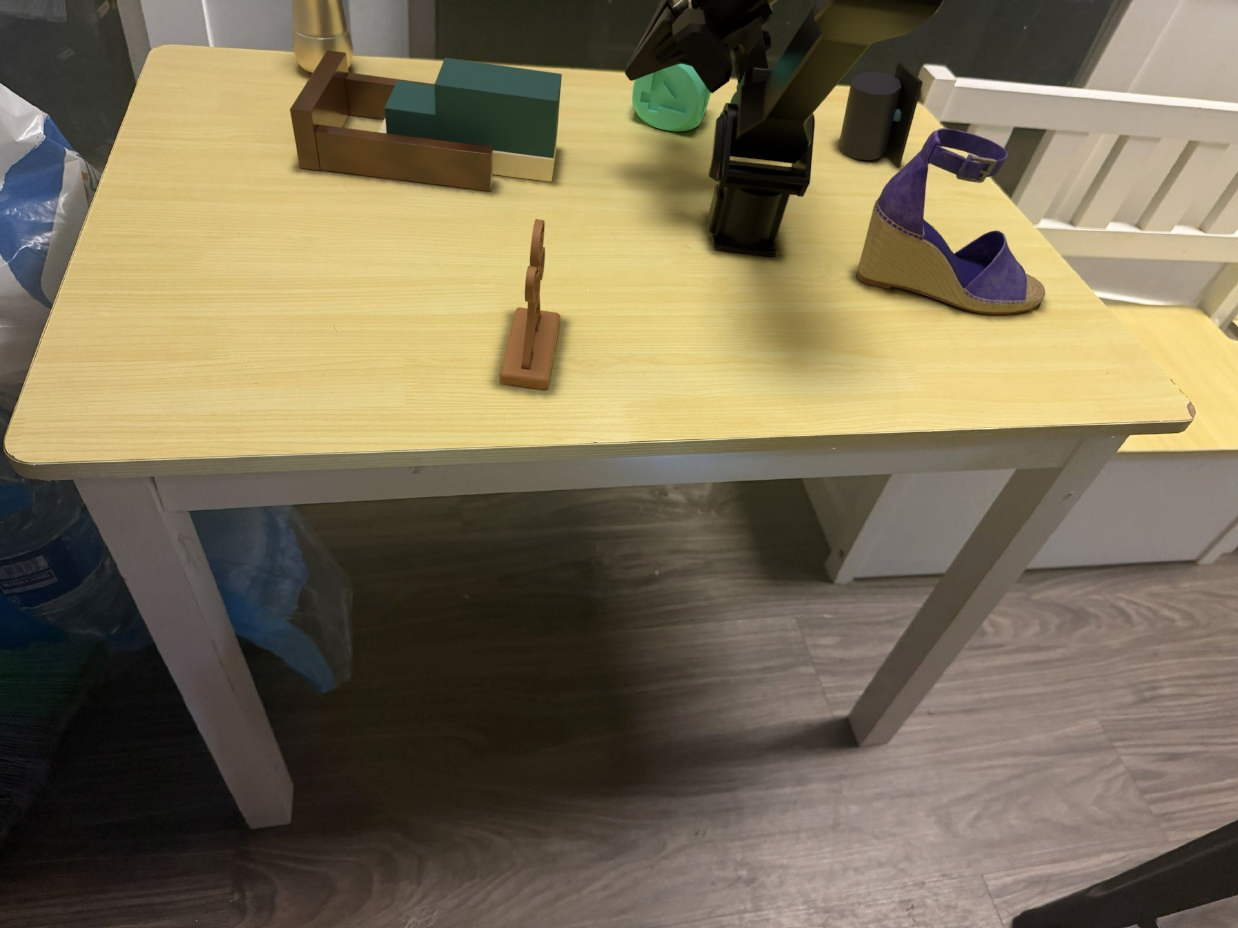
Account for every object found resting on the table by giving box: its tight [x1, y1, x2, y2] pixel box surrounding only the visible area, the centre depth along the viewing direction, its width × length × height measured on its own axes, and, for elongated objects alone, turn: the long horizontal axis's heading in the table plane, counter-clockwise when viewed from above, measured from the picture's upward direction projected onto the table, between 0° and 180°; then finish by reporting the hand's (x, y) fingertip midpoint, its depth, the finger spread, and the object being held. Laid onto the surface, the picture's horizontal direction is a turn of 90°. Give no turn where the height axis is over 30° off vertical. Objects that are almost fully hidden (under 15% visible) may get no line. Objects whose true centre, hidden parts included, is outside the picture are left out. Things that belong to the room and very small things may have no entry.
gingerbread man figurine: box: [499, 218, 561, 390], centre depth 63 cm, size 9×4×12 cm, turn 176°
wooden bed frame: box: [289, 50, 494, 192], centre depth 85 cm, size 19×14×6 cm
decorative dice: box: [631, 64, 712, 132], centre depth 97 cm, size 8×8×8 cm
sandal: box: [856, 127, 1046, 315], centre depth 77 cm, size 8×20×15 cm, turn 81°
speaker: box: [838, 61, 924, 168], centre depth 97 cm, size 8×6×10 cm
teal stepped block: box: [378, 57, 563, 183], centre depth 85 cm, size 18×7×8 cm, turn 89°
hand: (627, 76), depth 81 cm, fingers closed
